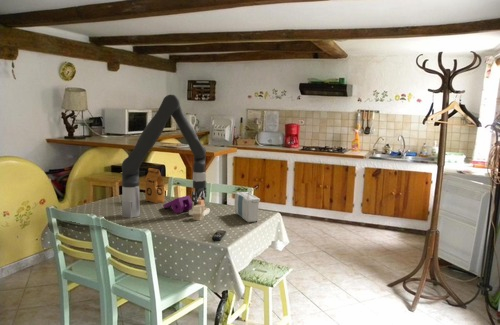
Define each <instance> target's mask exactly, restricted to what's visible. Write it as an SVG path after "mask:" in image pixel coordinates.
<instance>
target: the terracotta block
mask: <svg viewBox="0 0 500 325" xmlns="http://www.w3.org/2000/svg"><path fill="white" fill-rule="evenodd" d="M198 205H205V203H204V200H201V198H200V199H199V200H198Z"/></svg>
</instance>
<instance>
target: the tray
mask: <svg viewBox="0 0 500 325" xmlns="http://www.w3.org/2000/svg"><path fill="white" fill-rule="evenodd" d="M210 210H211V209H210V208H209V207H204V217H205V216H206V215H208V214H210ZM188 215H189V216H193V208H192V209H191V210H189V211H188Z"/></svg>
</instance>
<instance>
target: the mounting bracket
mask: <svg viewBox="0 0 500 325" xmlns="http://www.w3.org/2000/svg"><path fill="white" fill-rule="evenodd" d="M162 206H163V210H165V209H168V208H172V209H171V210H172V211H173V213H175V214H181V213H183V212H184V211H185V212H189V210H191V209H193V206H194V203H193V202H192V197H191V195H185V196H181V197H177V198H175V199H172V200H170V201H168V202H166V203H165V204H163V205H162Z"/></svg>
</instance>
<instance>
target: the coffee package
mask: <svg viewBox="0 0 500 325" xmlns="http://www.w3.org/2000/svg"><path fill="white" fill-rule="evenodd" d="M147 170H148V172H147V174H146V177H145V180H144V184H145V185H144V188H145V191H144V193H145V194H144V195H145V201H148V202H150V203H153V204H162V203H164V202H165V185H164V183H165V182H164V179H163V176H162V174H161V172H160V169H157V168H151V167H149V168H148V169H147Z"/></svg>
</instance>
